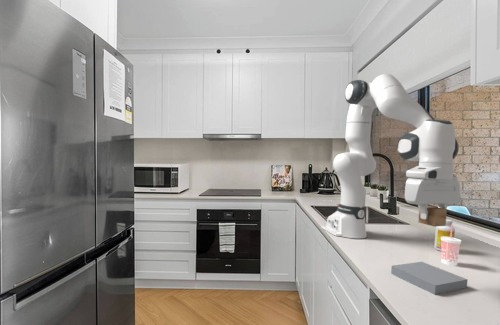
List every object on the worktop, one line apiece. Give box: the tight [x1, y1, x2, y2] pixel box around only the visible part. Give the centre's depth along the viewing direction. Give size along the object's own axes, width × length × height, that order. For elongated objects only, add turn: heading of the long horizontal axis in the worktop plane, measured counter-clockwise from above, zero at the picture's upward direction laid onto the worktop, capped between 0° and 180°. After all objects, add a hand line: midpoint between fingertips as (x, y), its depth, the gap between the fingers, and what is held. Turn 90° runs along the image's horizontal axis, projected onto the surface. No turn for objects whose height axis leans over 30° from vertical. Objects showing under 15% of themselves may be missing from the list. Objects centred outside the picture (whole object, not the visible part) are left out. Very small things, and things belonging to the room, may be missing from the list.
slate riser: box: [390, 261, 468, 295], centre depth 86 cm, size 14×14×2 cm
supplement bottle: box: [433, 218, 456, 252], centre depth 117 cm, size 7×7×13 cm
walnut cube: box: [417, 205, 448, 227], centre depth 85 cm, size 5×5×5 cm
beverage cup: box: [440, 224, 462, 267], centre depth 102 cm, size 6×6×14 cm
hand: (431, 218), depth 85 cm, fingers closed on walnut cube, 5 cm apart
